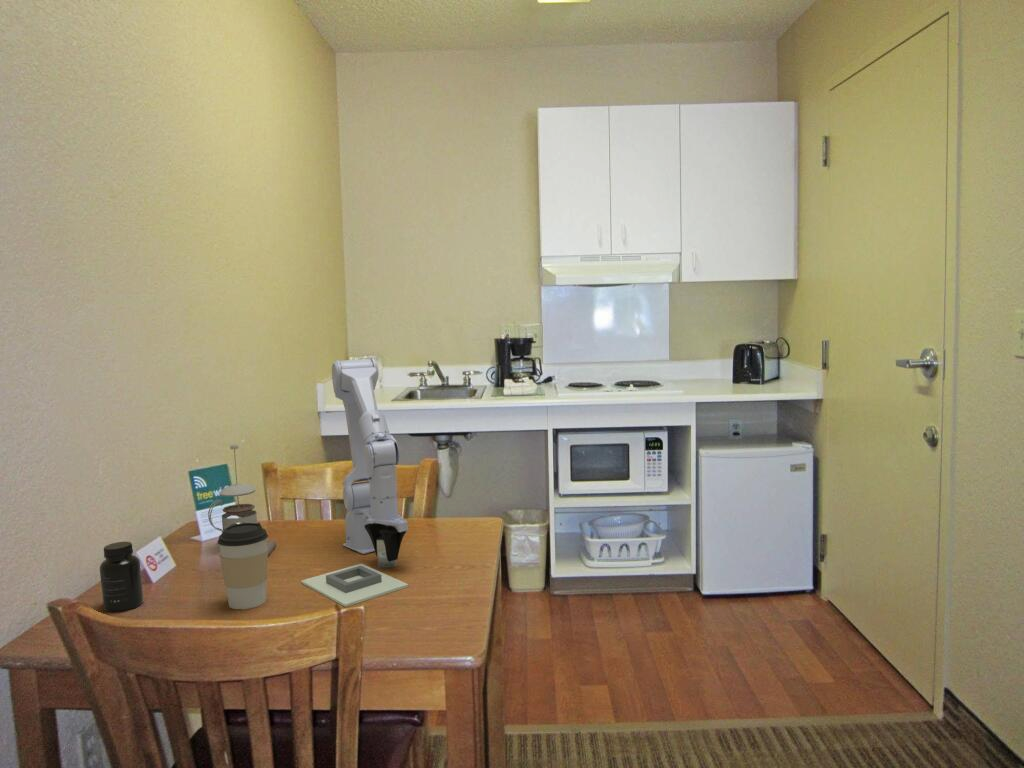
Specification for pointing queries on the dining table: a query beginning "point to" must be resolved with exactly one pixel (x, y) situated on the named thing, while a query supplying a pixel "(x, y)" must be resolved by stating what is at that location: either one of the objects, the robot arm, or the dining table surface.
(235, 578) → the coffee cup
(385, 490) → the robot arm
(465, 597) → the dining table surface
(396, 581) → the socket
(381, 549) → the key peg
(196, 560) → the dining table surface
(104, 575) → the supplement bottle
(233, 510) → the french press
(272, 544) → the metal rod
